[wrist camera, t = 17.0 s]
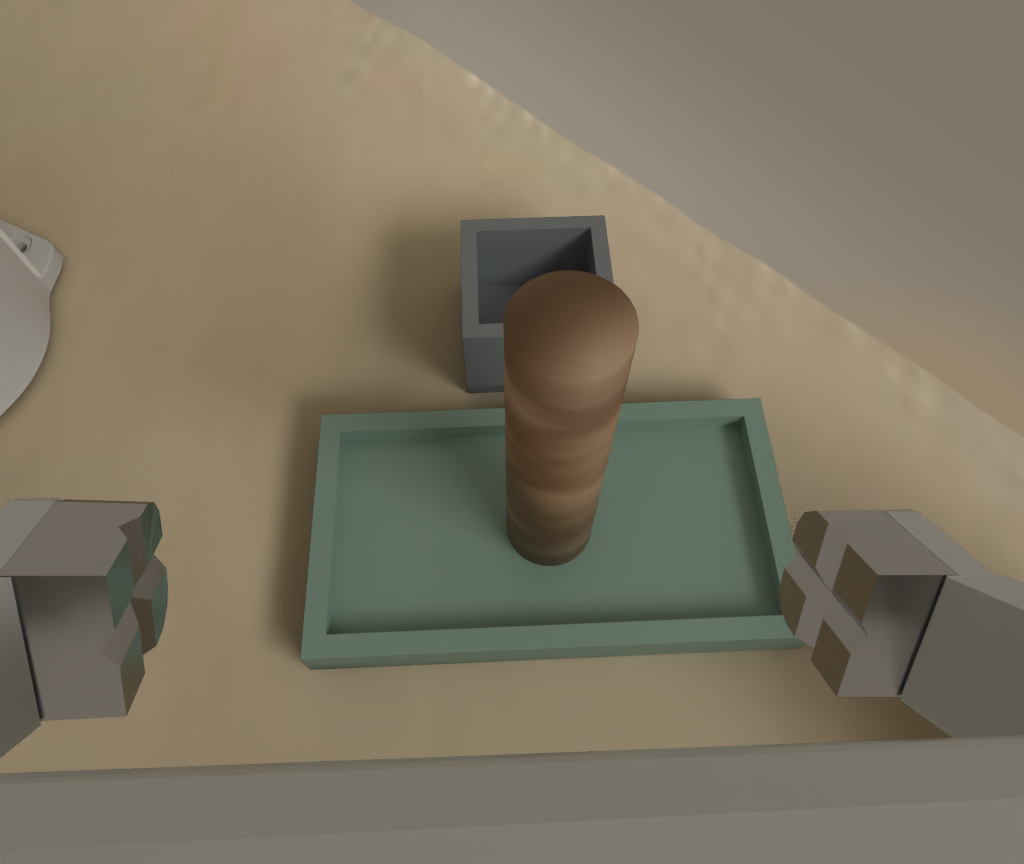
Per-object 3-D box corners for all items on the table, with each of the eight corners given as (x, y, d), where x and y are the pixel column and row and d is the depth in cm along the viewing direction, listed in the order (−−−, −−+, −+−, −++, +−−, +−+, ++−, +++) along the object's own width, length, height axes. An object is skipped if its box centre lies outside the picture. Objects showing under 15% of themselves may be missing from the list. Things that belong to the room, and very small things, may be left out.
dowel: (489, 532, 37) (475, 332, 23) (540, 472, 39) (556, 250, 25) (557, 583, 36) (587, 404, 22) (607, 519, 37) (665, 313, 23)
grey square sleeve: (467, 392, 42) (462, 338, 38) (465, 282, 46) (460, 220, 41) (609, 387, 42) (620, 332, 38) (595, 277, 46) (604, 215, 41)
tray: (310, 669, 35) (300, 659, 33) (329, 434, 41) (321, 414, 39) (799, 648, 35) (814, 636, 34) (749, 418, 41) (760, 398, 39)
